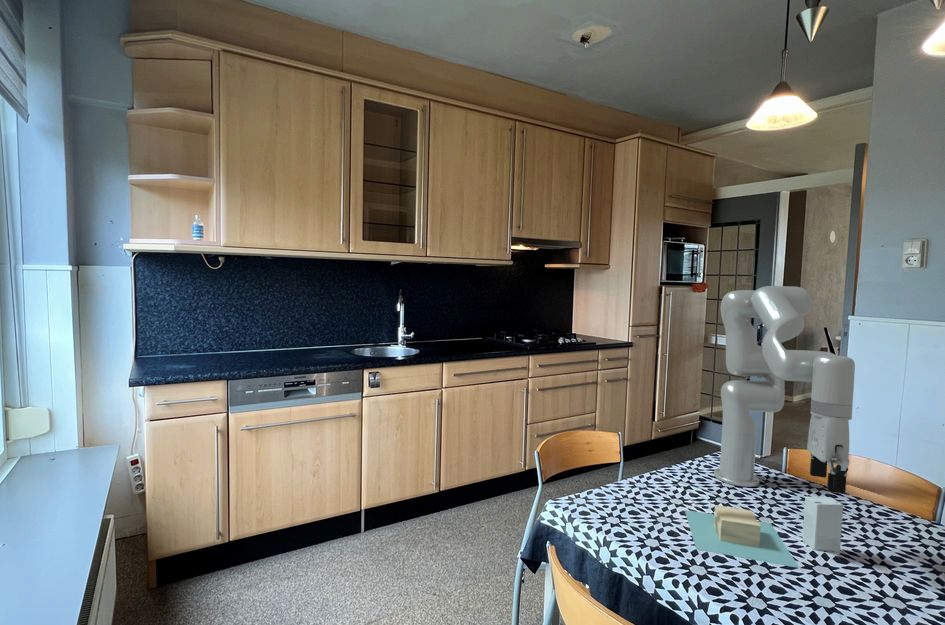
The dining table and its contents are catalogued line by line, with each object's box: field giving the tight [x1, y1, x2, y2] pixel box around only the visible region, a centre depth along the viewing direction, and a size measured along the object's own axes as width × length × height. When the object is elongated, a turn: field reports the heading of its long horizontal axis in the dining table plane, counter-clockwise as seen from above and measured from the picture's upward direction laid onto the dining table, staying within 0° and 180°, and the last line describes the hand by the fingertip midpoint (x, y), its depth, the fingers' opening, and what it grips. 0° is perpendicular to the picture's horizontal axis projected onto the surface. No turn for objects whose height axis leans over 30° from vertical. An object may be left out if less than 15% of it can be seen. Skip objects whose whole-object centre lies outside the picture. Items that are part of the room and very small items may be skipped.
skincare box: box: [801, 496, 844, 556], centre depth 108 cm, size 6×4×12 cm
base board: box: [684, 509, 800, 569], centre depth 112 cm, size 20×20×1 cm
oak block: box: [714, 504, 761, 547], centre depth 112 cm, size 8×8×5 cm
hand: (826, 483), depth 107 cm, fingers open, 9 cm apart
